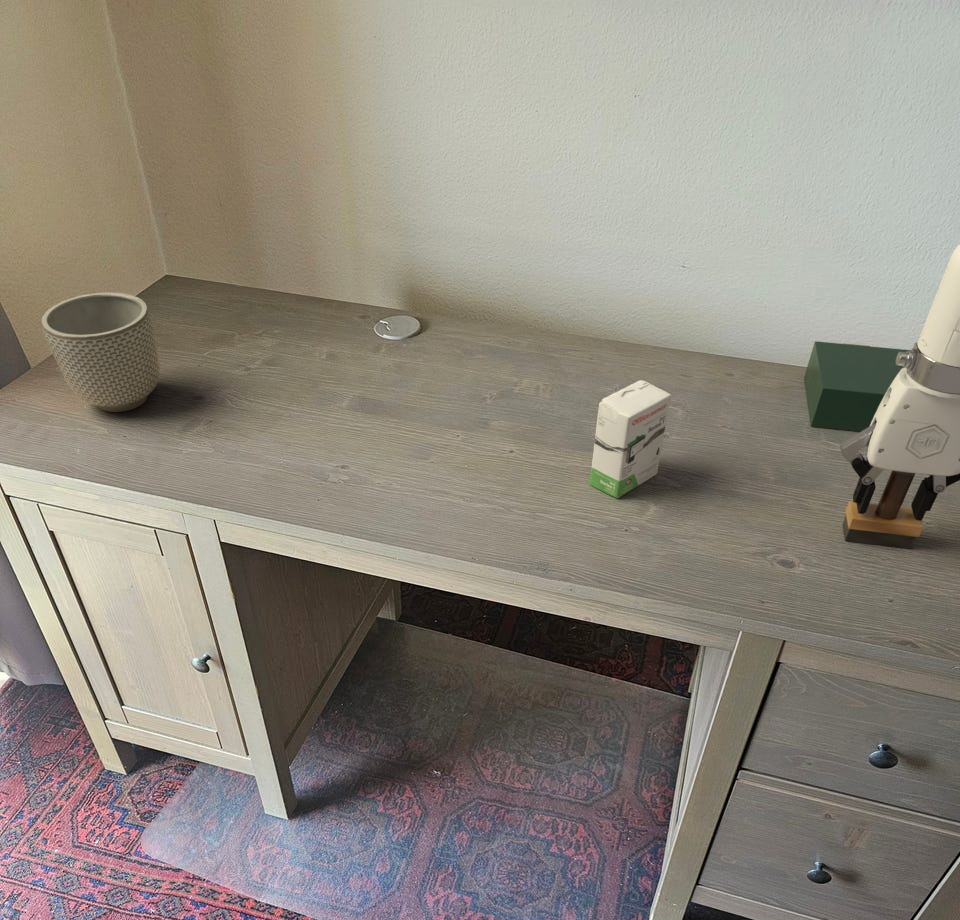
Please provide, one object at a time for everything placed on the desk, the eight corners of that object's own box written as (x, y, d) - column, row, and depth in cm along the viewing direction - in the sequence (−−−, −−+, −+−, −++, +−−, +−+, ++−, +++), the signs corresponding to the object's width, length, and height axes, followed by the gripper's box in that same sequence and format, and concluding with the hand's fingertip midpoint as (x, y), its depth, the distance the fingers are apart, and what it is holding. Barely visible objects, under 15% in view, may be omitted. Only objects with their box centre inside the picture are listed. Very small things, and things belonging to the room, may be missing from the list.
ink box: (616, 500, 109) (629, 417, 100) (587, 483, 111) (596, 401, 103) (659, 473, 113) (674, 392, 104) (629, 458, 115) (642, 377, 107)
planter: (128, 367, 132) (103, 283, 122) (191, 394, 126) (170, 308, 117) (51, 406, 124) (17, 318, 114) (115, 436, 118) (85, 347, 109)
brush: (908, 532, 105) (938, 466, 98) (912, 550, 102) (944, 484, 95) (840, 523, 106) (865, 458, 99) (843, 542, 103) (869, 475, 96)
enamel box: (901, 388, 129) (916, 350, 125) (916, 438, 119) (933, 399, 115) (803, 378, 131) (814, 340, 127) (810, 426, 121) (822, 388, 117)
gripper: (866, 377, 87) (814, 520, 100) (1047, 395, 85) (971, 539, 97) (857, 343, 92) (810, 483, 105) (1028, 359, 90) (958, 500, 103)
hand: (888, 509), depth 101 cm, fingers open, 5 cm apart
